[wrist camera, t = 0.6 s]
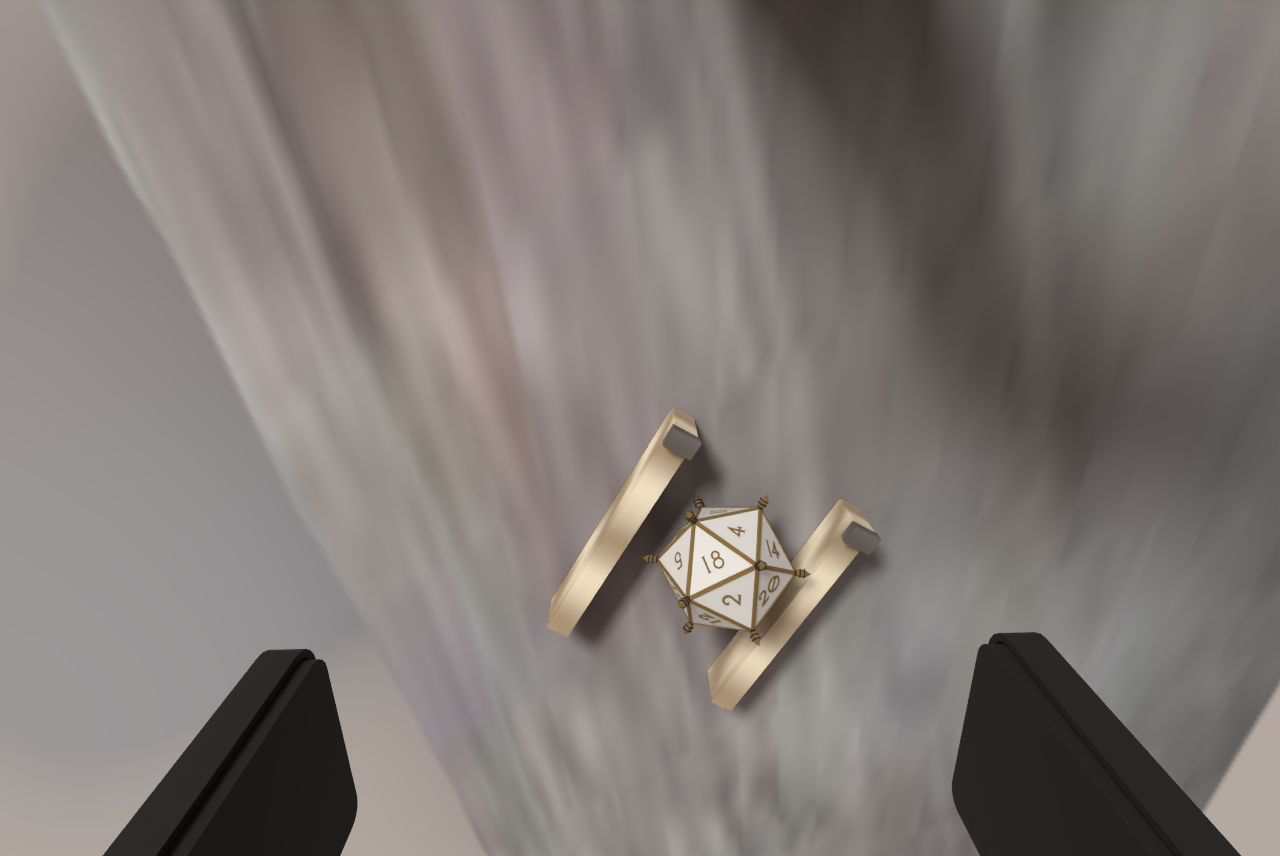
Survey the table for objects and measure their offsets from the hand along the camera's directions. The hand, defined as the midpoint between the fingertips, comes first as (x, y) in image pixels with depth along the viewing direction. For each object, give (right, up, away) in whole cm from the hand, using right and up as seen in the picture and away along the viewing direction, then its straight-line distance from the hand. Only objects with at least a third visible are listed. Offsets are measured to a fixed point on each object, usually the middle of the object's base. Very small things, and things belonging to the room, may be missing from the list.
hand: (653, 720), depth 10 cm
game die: (+5, -3, +34) cm, 34 cm away
